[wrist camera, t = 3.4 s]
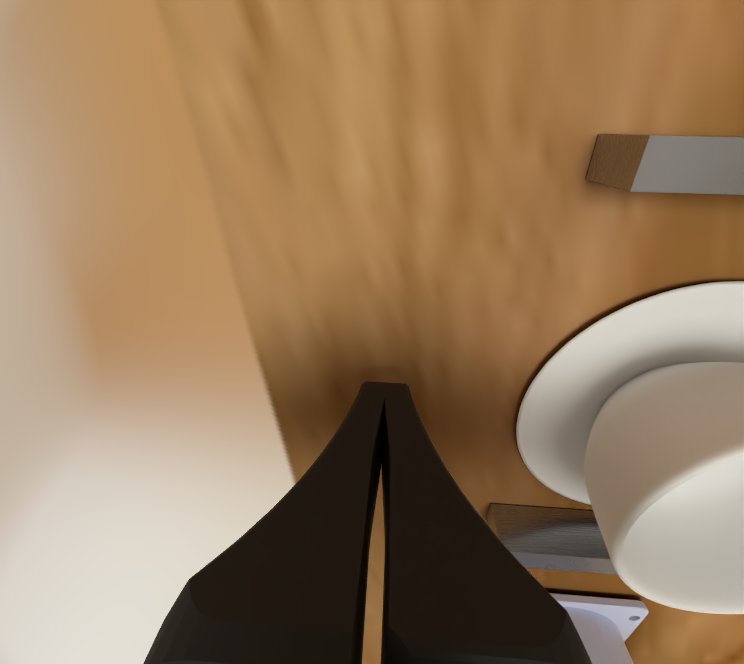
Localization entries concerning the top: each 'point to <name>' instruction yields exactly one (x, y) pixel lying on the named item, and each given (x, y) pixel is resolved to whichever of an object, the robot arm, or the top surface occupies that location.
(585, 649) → the robot arm
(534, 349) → the top surface
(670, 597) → the teacup
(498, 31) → the top surface
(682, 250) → the top surface
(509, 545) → the slot rails
